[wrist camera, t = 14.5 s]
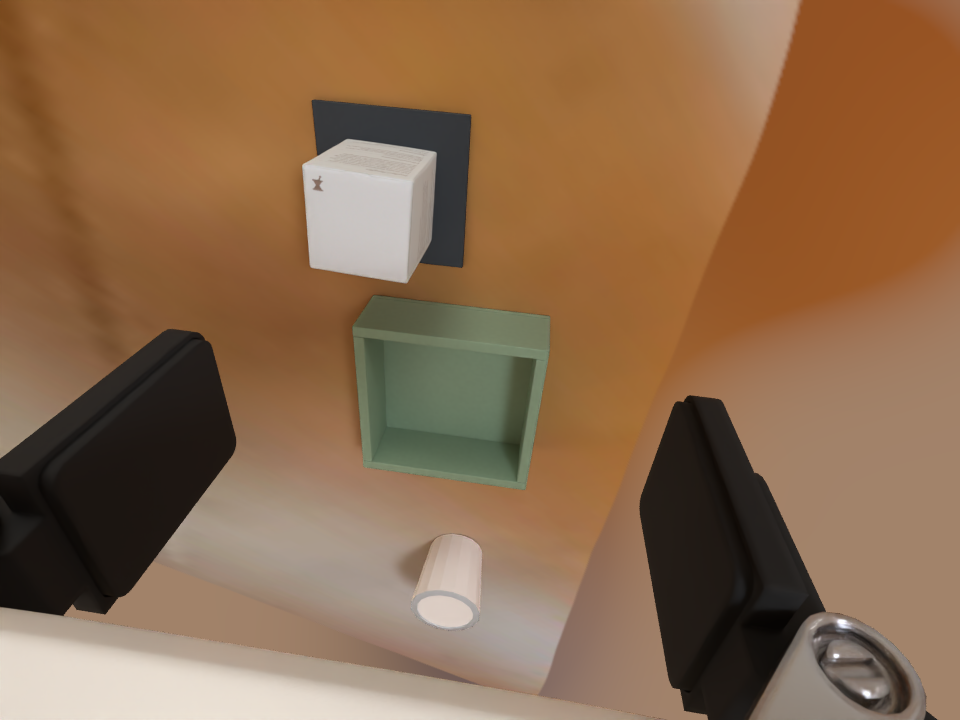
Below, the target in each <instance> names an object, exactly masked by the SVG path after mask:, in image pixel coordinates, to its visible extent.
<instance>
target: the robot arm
mask: <svg viewBox="0 0 960 720" xmlns="http://www.w3.org/2000/svg"><path fill="white" fill-rule="evenodd" d="M235 447H236V436H235V432H234V429H233V425H232V421H231V417H230V413H229V410H228V406H227V402H226V398H225V394H224V391H223V387H222V383H221V379H220V375H219V372H218V368H217V364H216V360H215V356H214V353H213V349H212V346H211V344H210V343H209V342H208V341H206V340H205V339H204V337H203V336H202V335H201V334H200V333H198V332H191V331H183V330H175V329H168V330H166V331H164V332H162V333H161V334H160V335H159V336H157V337H156V338H155V339H153V340H152V341H151V342H150V343H148V344H147V345H146V346H144V347H143V348H142V349H141V350H139V351H138V352H137V353H135V354H134V355H133V356H132V357H130V358H129V359H128V360H126V361H125V362H124V363H123V364H121V365H120V366H119V367H117V368H116V369H115V370H114V371H112V372H111V373H110V374H109V375H107V376H106V377H105V378H103V379H102V380H101V381H100V382H98V383H97V384H96V385H94V386H93V387H92V388H91V389H89V390H88V391H87V392H85V393H84V394H83V395H82V396H80V397H79V398H78V399H76V400H75V401H74V402H73V403H71V404H70V405H69V406H67V407H66V408H65V409H64V410H62V411H61V412H60V413H59V414H57V415H56V416H55V417H53V418H52V419H51V420H50V421H48V422H47V423H46V424H44V425H43V426H42V427H41V428H39V429H38V430H37V431H35V432H34V433H33V434H32V435H30V436H29V437H28V438H26V439H25V440H24V441H23V442H21V443H20V444H19V445H17V446H16V447H15V448H14V449H12V450H11V451H10V452H9V453H7V454H6V455H5V456H3V457H2V458H1V459H0V720H665V719H660V718H655V717H649V716H644V715H639V714H634V713H628V712H623V711H618V710H613V709H608V708H603V707H596V706H592V705H587V704H581V703H576V702H571V701H566V700H561V699H554V698H549V697H544V696H538V695H532V694H526V693H520V692H515V691H509V690H503V689H497V688H492V687H486V686H480V685H474V684H468V683H463V682H456V681H451V680H445V679H440V678H433V677H428V676H422V675H416V674H411V673H405V672H399V671H393V670H387V669H381V668H375V667H369V666H363V665H358V664H352V663H346V662H340V661H334V660H328V659H322V658H316V657H310V656H303V655H298V654H292V653H286V652H280V651H274V650H268V649H262V648H256V647H250V646H244V645H238V644H232V643H226V642H220V641H214V640H208V639H202V638H195V637H189V636H183V635H177V634H171V633H165V632H158V631H153V630H146V629H140V628H134V627H128V626H122V625H115V624H109V623H103V622H97V621H91V620H85V619H78V618H72V617H66V616H64V614H65V612H66V611H67V610H68V609H69V608H70V607H71V605H72V604H73V605H74V607H75V608H76V609H77V610H82V611H88V612H94V613H100V614H106V613H107V612H108V610H109V609H110V608H111V606H112V605H113V604H114V603H115V601H116V600H117V599H118V597H122V596H125V595H126V594H127V593H129V591H130V590H131V589H132V588H133V587H134V585H135V584H136V583H137V581H138V580H139V579H140V577H141V576H142V575H143V573H144V572H145V571H146V570H147V568H148V567H149V565H150V564H151V563H152V562H153V560H154V559H155V558H156V556H157V555H158V554H159V552H160V551H161V550H162V548H163V547H164V546H165V544H166V543H167V542H168V540H169V539H170V538H171V536H172V535H173V534H174V532H175V531H176V530H177V528H178V527H179V526H180V524H181V523H182V522H183V520H184V519H185V518H186V516H187V515H188V514H189V512H190V511H191V510H192V508H193V507H194V506H195V504H196V503H197V502H198V500H199V499H200V498H201V496H202V495H203V494H204V492H205V491H206V490H207V488H208V487H209V486H210V484H211V483H212V482H213V480H214V479H215V478H216V476H217V475H218V474H219V472H220V471H221V470H222V468H223V467H224V466H225V464H226V463H227V462H228V460H229V459H230V458H231V456H232V455H233V453H234V451H235ZM640 518H641V523H642V529H643V534H644V540H645V546H646V552H647V558H648V563H649V569H650V575H651V581H652V586H653V592H654V598H655V603H656V609H657V614H658V621H659V626H660V632H661V638H662V643H663V649H664V655H665V661H666V666H667V672H668V677H669V681H670V683H671V686H672V687H673V688H676V689H680V691H681V696H682V701H683V706H684V711H689V712H694V713H700V714H706V715H707V716H708V720H937V719H936V718H934V717H933V716H932V715H931V714H930V713H928V712H927V711H926V695H925V692H924V688H923V686H922V683H921V680H920V678H919V676H918V674H917V673H916V671H915V670H914V668H913V667H912V665H911V663H910V662H909V660H908V659H907V658H906V657H905V656H904V655H903V654H902V653H901V652H900V651H899V649H898V648H897V647H896V646H895V645H894V644H893V643H892V642H890V641H889V640H888V639H887V638H885V637H884V636H883V635H882V634H880V633H879V632H878V631H876V630H875V629H874V628H871V627H870V626H868V625H866V624H865V623H863V622H861V621H859V620H857V619H855V618H852V617H849V616H846V615H843V614H840V613H832V612H826V611H825V608H824V606H823V604H822V602H821V600H820V598H819V595H818V593H817V591H816V589H815V587H814V585H813V583H812V580H811V578H810V576H809V574H808V572H807V570H806V568H805V565H804V563H803V561H802V559H801V557H800V554H799V552H798V550H797V548H796V546H795V544H794V542H793V539H792V538H791V535H790V533H789V531H788V529H787V526H786V524H785V522H784V520H783V518H782V516H781V514H780V511H779V509H778V507H777V505H776V503H775V501H774V498H773V496H772V494H771V492H770V490H769V488H768V486H767V484H766V482H765V480H764V479H763V477H762V476H760V475H759V474H757V473H754V471H753V469H752V467H751V464H750V462H749V460H748V458H747V456H746V453H745V451H744V449H743V446H742V444H741V442H740V440H739V438H738V435H737V433H736V431H735V429H734V426H733V424H732V422H731V420H730V417H729V416H728V413H727V411H726V408H725V406H724V404H723V402H722V401H721V400H719V399H715V398H707V397H699V396H691V395H690V396H687V397H686V399H685V400H684V402H676V403H675V404H674V406H673V409H672V411H671V414H670V417H669V420H668V423H667V426H666V428H665V431H664V434H663V437H662V439H661V442H660V445H659V448H658V450H657V453H656V456H655V459H654V461H653V464H652V467H651V470H650V472H649V476H648V478H647V481H646V484H645V486H644V489H643V492H642V495H641V499H640Z"/></svg>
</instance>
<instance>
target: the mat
mask: <svg viewBox="0 0 960 720" xmlns="http://www.w3.org/2000/svg"><path fill="white" fill-rule="evenodd" d="M312 107H313V117H314V127H315V136H316V146H317V156H319V155H320V154H322V153H324V152H325V151H327V150H329V149H331V148H332V147H334V146H336V145H338V144H339V143H341V142H343V141H344V140H346V139H352V140H361V141H367V142H375V143H382V144H389V145H396V146H402V147H409V148H415V149H421V150H427V151H433V152H436V153H437V157H436V173H435V190H434V208H433V223H432V239H431V242H430V244H429V246H428V248H427V250H426V251H425V253H424V255H423V257H422V258H421V260H420V262H419V263H425V264H434V265H443V266H451V267H460V268H462V267H463V256H464V238H465V220H466V201H467V183H468V165H469V147H470V129H471V115H469V114H459V113H448V112H438V111H428V110H417V109H407V108H397V107H386V106H376V105H365V104H355V103H345V102H334V101H324V100H312Z"/></svg>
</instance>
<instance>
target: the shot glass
mask: <svg viewBox="0 0 960 720" xmlns="http://www.w3.org/2000/svg"><path fill="white" fill-rule="evenodd" d="M481 569H482V550H481V548H480V546H479V545H478V544H477V543H476V542H475V541H474V540H473V539H470V538H468V537H466V536H464V535H458V534H445V535H442V536H439V537H437V538H435V540H434V541H433V542H432V544H431V547H430V549H429V552H428V555H427V558H426V561H425V564H424V566H423V569H422V572H421V575H420V578H419V581H418V584H417V586H416V589H415V592H414V595H413V598H412V601H411V610H412V612H413V613H414V615H415V616H416V618H418V619H419V620H421V621H422V622H423V623H425V624H427V625H429V626H432V627H434V628H437V629H442V630H448V631H456V630H465V629H467V628H470V627H473V626H474V625H475V624H476V623H477V622H478V621H479V616H480V597H481Z"/></svg>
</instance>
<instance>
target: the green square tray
mask: <svg viewBox="0 0 960 720" xmlns="http://www.w3.org/2000/svg"><path fill="white" fill-rule="evenodd" d="M352 330H353V340H354V352H355V365H356V377H357V390H358V402H359V415H360V427H361V440H362V452H363V466H364V467H366V468H373V469H380V470H387V471H394V472H401V473H408V474H415V475H422V476H429V477H436V478H443V479H450V480H457V481H464V482H471V483H479V484H486V485H493V486H500V487H507V488H514V489H521V490H525V489H526V484H527V478H528V472H529V467H530V461H531V455H532V449H533V444H534V438H535V432H536V426H537V421H538V415H539V409H540V403H541V398H542V392H543V386H544V380H545V375H546V369H547V363H548V358H549V352H550V316H545V315H536V314H528V313H520V312H511V311H503V310H495V309H486V308H478V307H470V306H461V305H453V304H445V303H437V302H428V301H420V300H412V299H403V298H395V297H387V296H378V295H373V297H372V298H371V300H370V301H369V303H368V304H367V305H366V307H365V308H364V310H363V311H362V313H361V314H360V316H359V317H358V319H357V320H356V322H355V323H354V325H353V326H352Z"/></svg>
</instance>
